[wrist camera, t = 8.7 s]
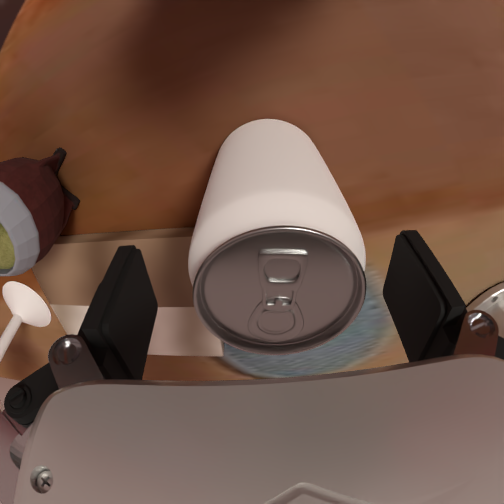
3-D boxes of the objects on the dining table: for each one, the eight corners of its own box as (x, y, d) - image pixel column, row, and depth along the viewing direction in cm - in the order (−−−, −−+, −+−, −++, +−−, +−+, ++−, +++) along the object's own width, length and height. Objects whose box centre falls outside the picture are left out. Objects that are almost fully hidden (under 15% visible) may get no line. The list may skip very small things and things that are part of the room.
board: (203, 226, 23) (201, 236, 22) (224, 346, 30) (223, 356, 29) (28, 238, 23) (21, 246, 22) (80, 340, 31) (76, 348, 30)
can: (217, 210, 22) (190, 359, 12) (215, 116, 18) (166, 210, 8) (313, 213, 22) (353, 360, 12) (323, 120, 18) (402, 219, 8)
